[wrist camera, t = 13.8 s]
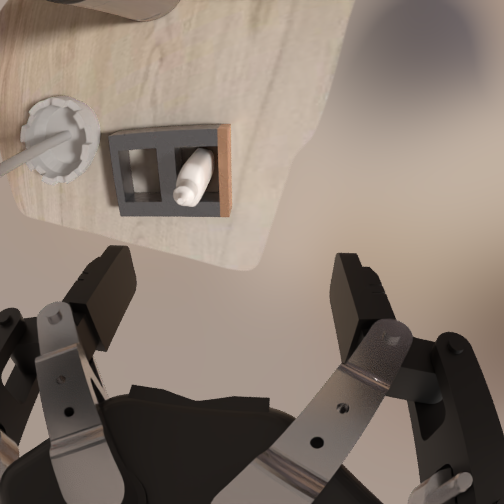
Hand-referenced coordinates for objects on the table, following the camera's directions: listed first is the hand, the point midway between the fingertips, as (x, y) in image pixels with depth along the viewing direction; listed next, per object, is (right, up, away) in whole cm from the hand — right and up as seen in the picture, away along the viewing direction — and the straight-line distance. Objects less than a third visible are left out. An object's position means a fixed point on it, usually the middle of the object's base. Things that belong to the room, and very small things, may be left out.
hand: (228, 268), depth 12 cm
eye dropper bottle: (-6, +12, +31) cm, 34 cm away
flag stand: (-26, +19, +28) cm, 43 cm away
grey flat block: (-10, +12, +31) cm, 35 cm away
